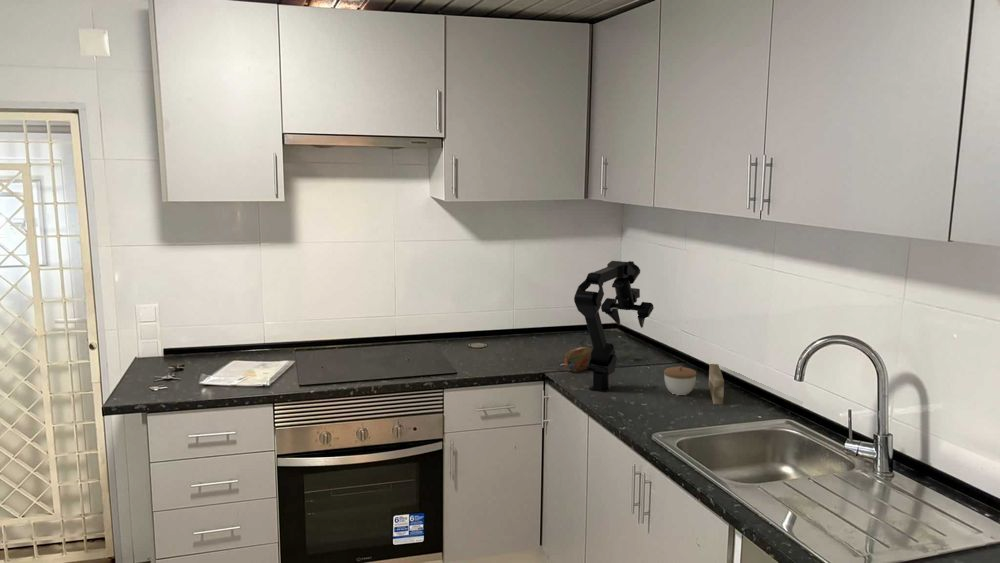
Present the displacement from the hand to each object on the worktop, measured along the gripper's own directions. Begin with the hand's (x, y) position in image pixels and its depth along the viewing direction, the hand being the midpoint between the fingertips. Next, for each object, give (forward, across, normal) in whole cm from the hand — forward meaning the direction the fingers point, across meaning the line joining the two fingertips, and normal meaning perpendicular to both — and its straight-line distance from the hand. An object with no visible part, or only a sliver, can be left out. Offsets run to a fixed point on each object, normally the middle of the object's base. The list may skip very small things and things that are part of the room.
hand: (630, 325), depth 278 cm
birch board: (+12, -36, +16) cm, 41 cm away
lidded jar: (+10, -25, +20) cm, 34 cm away
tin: (+14, +18, +14) cm, 26 cm away
